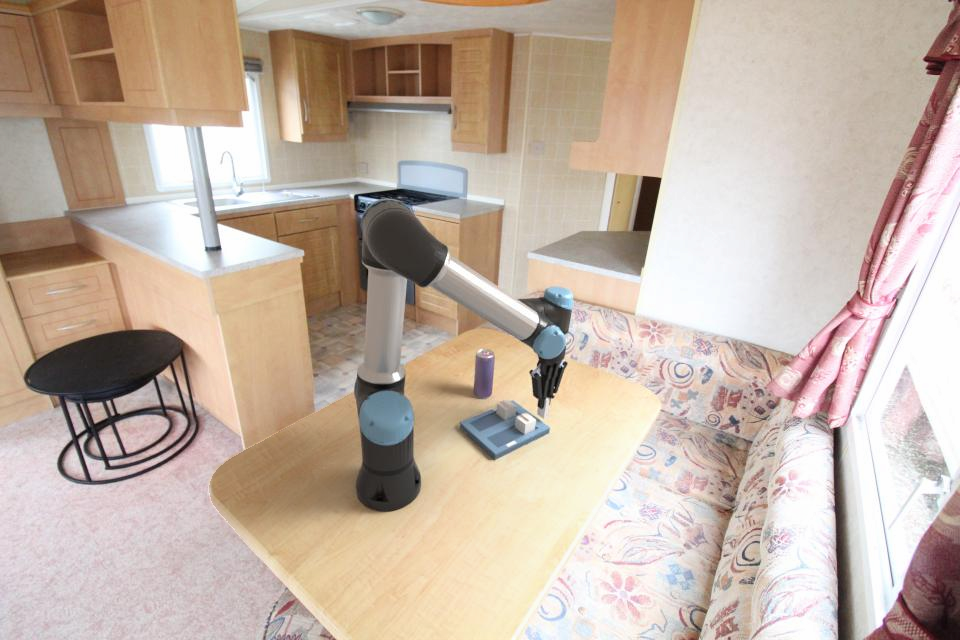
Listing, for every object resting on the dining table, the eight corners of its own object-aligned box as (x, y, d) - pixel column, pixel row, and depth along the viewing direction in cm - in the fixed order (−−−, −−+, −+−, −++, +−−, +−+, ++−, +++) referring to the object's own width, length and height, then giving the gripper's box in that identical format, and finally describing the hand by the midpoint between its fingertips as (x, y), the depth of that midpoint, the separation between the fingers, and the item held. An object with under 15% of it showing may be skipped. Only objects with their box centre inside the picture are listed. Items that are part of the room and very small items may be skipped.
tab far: (504, 420, 134) (506, 408, 132) (496, 413, 137) (497, 401, 135) (515, 415, 136) (516, 404, 135) (506, 408, 139) (507, 397, 138)
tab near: (524, 434, 129) (525, 422, 127) (514, 427, 132) (516, 415, 130) (534, 429, 131) (536, 417, 129) (525, 422, 134) (526, 410, 132)
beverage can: (491, 400, 146) (495, 358, 140) (473, 398, 146) (475, 357, 140) (491, 389, 151) (495, 349, 145) (473, 388, 151) (476, 348, 145)
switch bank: (495, 460, 121) (495, 453, 120) (459, 427, 132) (460, 421, 132) (549, 433, 132) (550, 427, 132) (512, 405, 144) (513, 399, 143)
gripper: (545, 355, 118) (534, 430, 128) (579, 343, 126) (567, 414, 135) (525, 343, 124) (516, 416, 133) (558, 332, 131) (548, 402, 141)
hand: (542, 415), depth 134 cm, fingers closed
